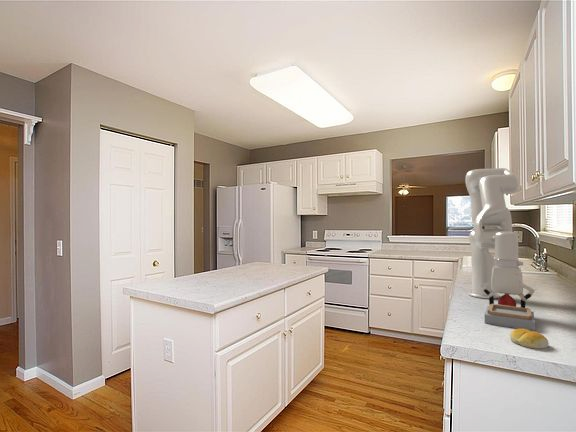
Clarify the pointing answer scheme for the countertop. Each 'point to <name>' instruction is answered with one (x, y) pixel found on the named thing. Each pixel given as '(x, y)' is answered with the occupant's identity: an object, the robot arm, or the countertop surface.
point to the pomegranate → (506, 300)
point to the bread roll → (529, 339)
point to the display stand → (510, 316)
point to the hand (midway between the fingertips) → (506, 308)
